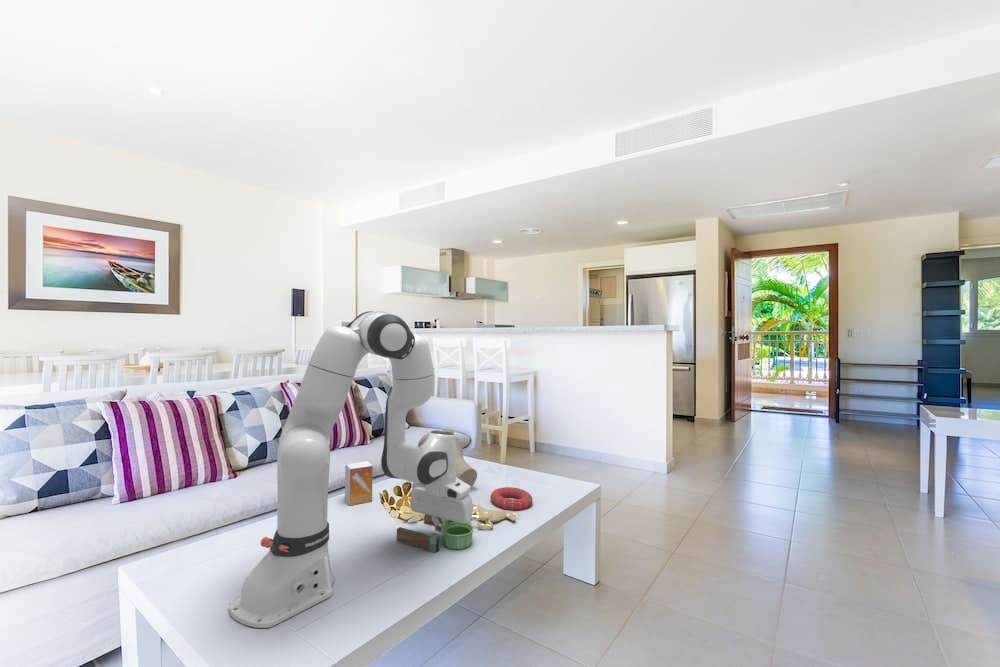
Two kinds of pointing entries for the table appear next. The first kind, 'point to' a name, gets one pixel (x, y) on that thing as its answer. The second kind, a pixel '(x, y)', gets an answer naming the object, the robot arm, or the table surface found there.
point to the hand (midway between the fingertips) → (440, 531)
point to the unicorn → (490, 516)
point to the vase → (458, 461)
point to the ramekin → (457, 535)
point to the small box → (358, 483)
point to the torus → (511, 504)
